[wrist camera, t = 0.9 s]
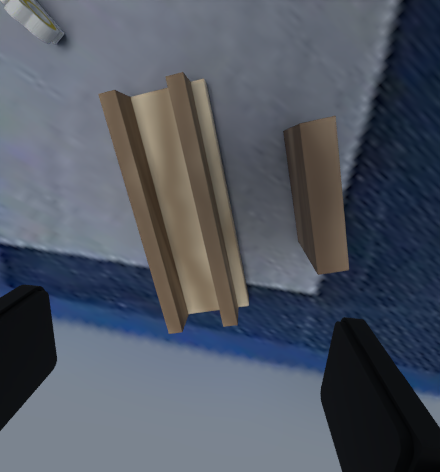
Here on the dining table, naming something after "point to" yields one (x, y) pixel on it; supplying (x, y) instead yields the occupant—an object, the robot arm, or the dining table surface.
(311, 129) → the walnut picture frame
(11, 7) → the decorative sign
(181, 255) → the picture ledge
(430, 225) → the dining table surface
